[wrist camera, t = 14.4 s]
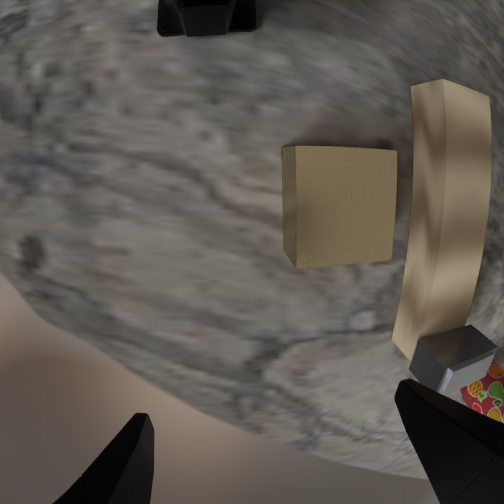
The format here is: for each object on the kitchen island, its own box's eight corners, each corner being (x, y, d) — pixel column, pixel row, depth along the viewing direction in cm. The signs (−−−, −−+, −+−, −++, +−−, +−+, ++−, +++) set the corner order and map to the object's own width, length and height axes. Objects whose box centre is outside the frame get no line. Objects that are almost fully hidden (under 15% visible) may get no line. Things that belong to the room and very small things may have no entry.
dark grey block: (417, 340, 20) (447, 371, 16) (470, 324, 21) (500, 348, 17) (409, 369, 21) (434, 401, 17) (461, 351, 22) (488, 377, 18)
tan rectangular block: (280, 147, 19) (295, 145, 15) (367, 149, 20) (397, 150, 16) (282, 248, 21) (296, 268, 18) (364, 242, 22) (391, 260, 18)
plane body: (410, 86, 18) (442, 78, 14) (457, 99, 19) (489, 96, 15) (391, 339, 25) (412, 364, 21) (434, 328, 26) (456, 349, 22)
